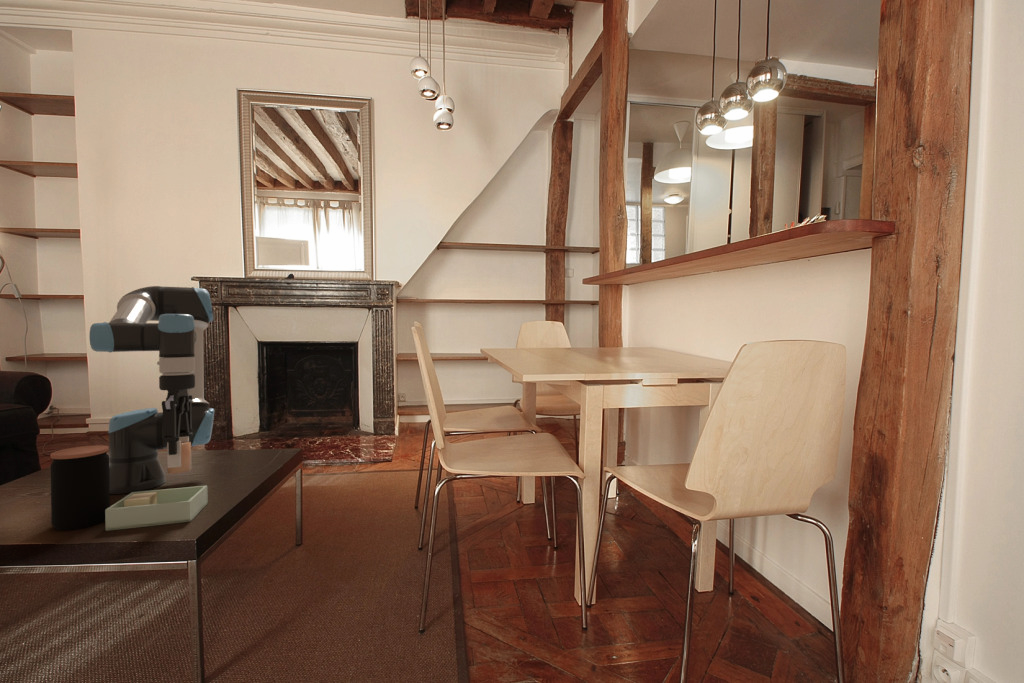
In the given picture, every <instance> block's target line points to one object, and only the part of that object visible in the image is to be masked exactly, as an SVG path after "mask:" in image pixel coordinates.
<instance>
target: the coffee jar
mask: <svg viewBox="0 0 1024 683" xmlns="http://www.w3.org/2000/svg"><path fill="white" fill-rule="evenodd" d="M107 453H109V445H105V444H104V445H103V444H102V445H100V444H97V445H96V444H95V445H94V444H93V445H84V446H83V445H82V446H75V447H69V448H63V449H59V450H56V451H52V452H51V453H50V458H51V460H52V462H51V463H50V513H51V514H50V520H51V526H52V527H53V528H54V529H56V530H57V531H72V530H79V529H83V528H89V527H92V526H95V525H97V524H100V523H102V522H104V521H105V510H106V509H107V508H109V507H110V506H111V500H110V499H111V496H110V495H111V494H110V482H109V454H107Z"/></svg>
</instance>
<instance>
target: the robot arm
mask: <svg viewBox="0 0 1024 683" xmlns="http://www.w3.org/2000/svg"><path fill="white" fill-rule="evenodd" d="M213 312H214V311H213V306H212V300H211V295H210V292H209V291H208V290H207V289H206V288H199V287H194V286H193V287H186V286H185V287H184V286H183V287H182V286H159V285H153V286H152V285H151V286H145V287H141V288H137V289H135V290H132V291H130V292H128V293H126V294H124V295H123V296H122V297H120V299H119V301H118V302H117V305H116V312H115V313H114V315H113V316H112V317H111V319H110V320H109V322H106V321H104V322H95V323H92V324H91V325H90V328H89V344H90V348H91V350H92V351H94V352H99V353H102V352H103V353H104V352H105V353H106V352H107V353H121V352H122V353H125V352H128V353H129V352H159V353H158V361H157V363H156V364H157V366H158V367H159V368H158V369H159V372H158V373H159V374H162V375H160V376H158V382H159V383H158V384H159V385H158V386H159V387H158V388H159V390H161V391H167V394H166V397H165V398H166V399H165V400H162V401H161V409H162V412H161V411H160V412H159V410H158V409H157V408H156V407H151V408H143V409H136V410H131V411H130V410H129V411H126V412H122V413H118V414H116V415H113V416H112V417H111V418H110V419H109V422H108V430H107V434H108V446H109V451H108V455H109V482H110V495H121V494H130V493H132V492H141V491H148V490H149V489H151V490H152V489H154V488H157V487H159V486H161V485H164V483H166V474H165V471H164V469H163V467H162V465H161V462H160V460H159V456H158V455H159V454H158V453H159V450H166V457H167V458H166V463H167V465H168V468H173V467H181V442H191V448H192V447H193V448H194V447H196V446H203V445H206V444H209V442H210V441H211V438H212V433H213V432H212V431H213V428H214V427H213V426H214V421H215V420H214V418H215V408H212V407H210V402H208V401H207V400H205V378H204V377H205V375H204V374H205V373H204V372H205V371H204V370H205V366H204V361H205V360H204V353H205V352H204V344H205V343H204V331H205V330H207V328H209V323H212V322H213V321H214V313H213ZM149 321H151V322H152V323H151V322H149ZM155 321H156V323H155ZM157 321H158V322H157ZM153 322H154V323H153Z"/></svg>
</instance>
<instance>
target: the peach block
mask: <svg viewBox="0 0 1024 683" xmlns="http://www.w3.org/2000/svg"><path fill="white" fill-rule="evenodd" d="M166 470H167V474H169V475H170V474H171V475H172V474H181V473H187V472H190V471H191V470H192V446H191V442H181V467H173V468H168V465H167V468H166Z"/></svg>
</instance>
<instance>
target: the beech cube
mask: <svg viewBox="0 0 1024 683" xmlns="http://www.w3.org/2000/svg"><path fill="white" fill-rule="evenodd" d="M151 504H157V492H154V493H143V494H134V495H132V496H131V497H129V498H127V499H126V500H124V507H131V506H141V505H151Z"/></svg>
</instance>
